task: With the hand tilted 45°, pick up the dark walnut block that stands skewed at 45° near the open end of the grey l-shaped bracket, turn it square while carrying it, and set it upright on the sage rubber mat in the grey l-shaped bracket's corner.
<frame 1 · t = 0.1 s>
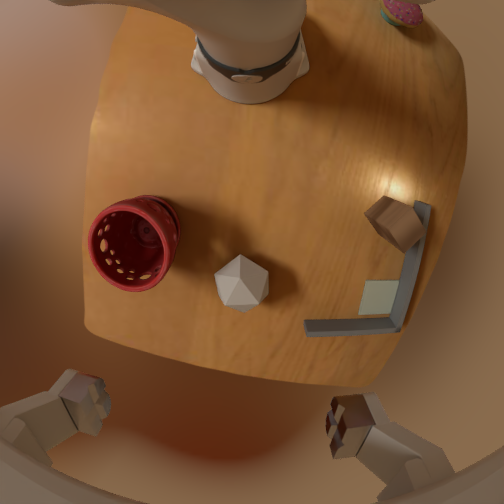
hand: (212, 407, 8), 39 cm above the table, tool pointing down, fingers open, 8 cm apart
plant pot: (153, 227, 47), on the table
cupcake: (391, 17, 31), on the table
grey l-shaped bracket: (364, 262, 48), on the table
die: (243, 273, 49), on the table
walnut block: (381, 215, 45), on the table
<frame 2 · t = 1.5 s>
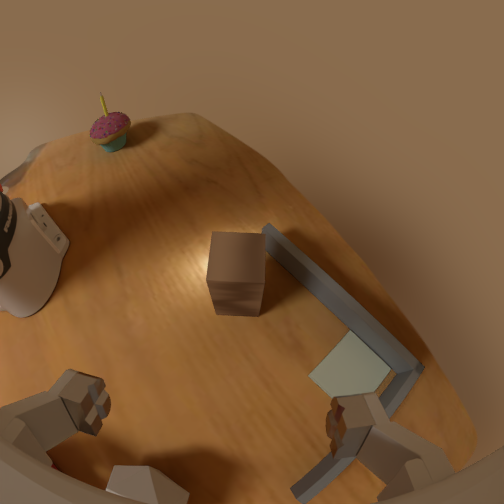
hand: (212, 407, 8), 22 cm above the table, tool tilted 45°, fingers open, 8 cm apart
cupcake: (116, 145, 48), on the table
grey l-shaped bracket: (279, 360, 30), on the table
die: (155, 489, 21), on the table
walnut block: (238, 296, 33), on the table
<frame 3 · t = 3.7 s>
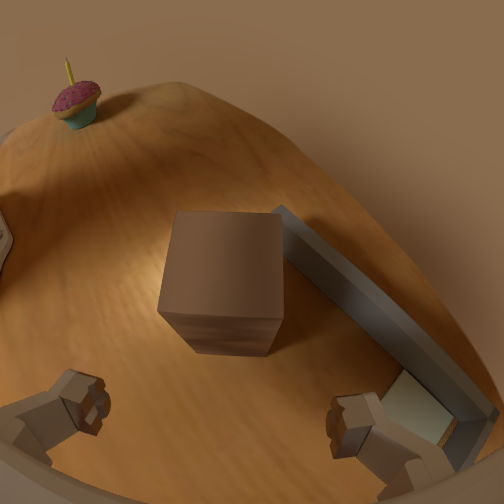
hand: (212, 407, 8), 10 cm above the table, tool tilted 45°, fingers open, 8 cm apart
cupcake: (84, 121, 35), on the table
grey l-shaped bracket: (298, 426, 16), on the table
walnut block: (232, 323, 20), on the table
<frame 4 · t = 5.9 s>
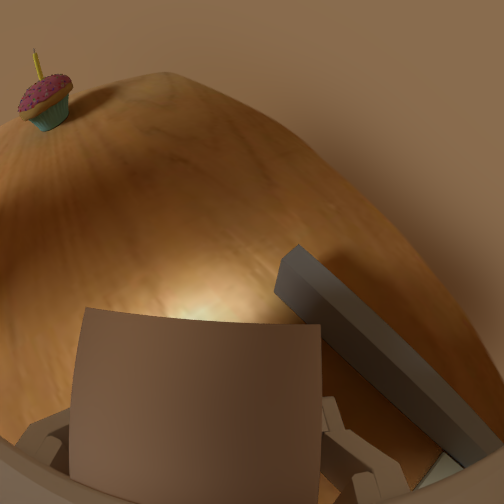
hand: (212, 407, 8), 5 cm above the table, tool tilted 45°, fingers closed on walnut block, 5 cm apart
cupcake: (55, 122, 28), on the table
walnut block: (224, 415, 13), on the table, touching gripper
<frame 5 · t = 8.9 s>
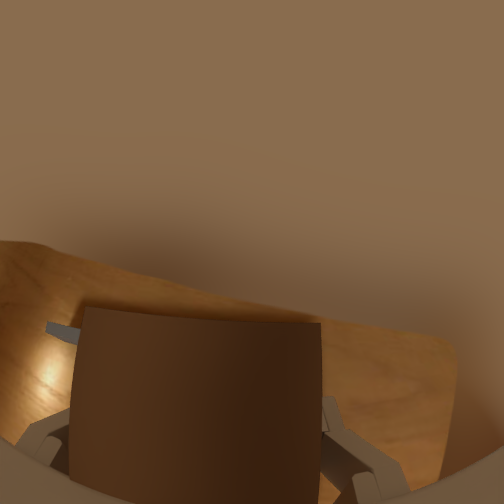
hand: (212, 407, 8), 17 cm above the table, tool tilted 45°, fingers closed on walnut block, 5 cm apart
grey l-shaped bracket: (154, 444, 21), on the table
walnut block: (224, 415, 13), point 12 cm above the table, touching gripper
when the fingers open (7 cm above the table, at t = 11.9 s): walnut block drops 1 cm, resting on grey l-shaped bracket.
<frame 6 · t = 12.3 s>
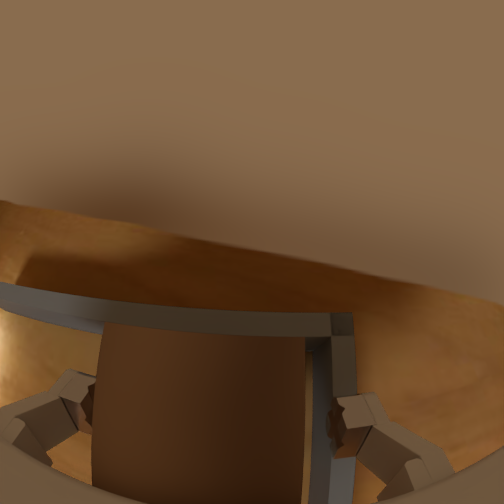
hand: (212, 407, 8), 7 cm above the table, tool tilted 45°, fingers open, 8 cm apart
grey l-shaped bracket: (106, 463, 11), on the table
walnut block: (224, 414, 14), resting on grey l-shaped bracket
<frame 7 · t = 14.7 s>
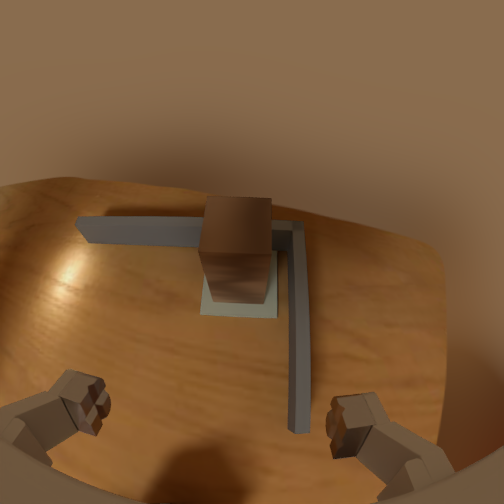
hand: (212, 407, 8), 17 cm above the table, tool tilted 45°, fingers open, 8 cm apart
grey l-shaped bracket: (164, 321, 26), on the table
walnut block: (239, 280, 29), resting on grey l-shaped bracket
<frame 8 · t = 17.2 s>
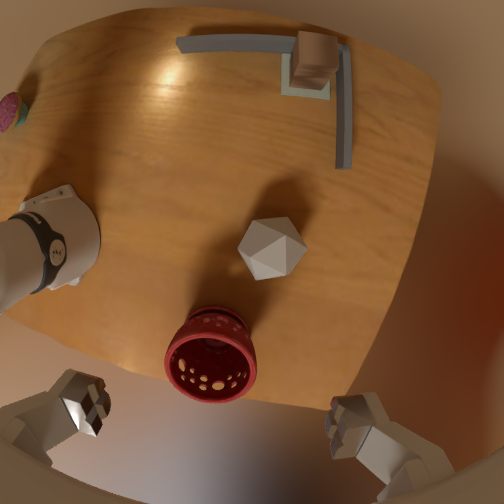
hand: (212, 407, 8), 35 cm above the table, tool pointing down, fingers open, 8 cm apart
plant pot: (218, 330, 47), on the table
cupcake: (22, 114, 36), on the table
grey l-shaped bracket: (256, 99, 37), on the table
die: (270, 242, 43), on the table
walnut block: (305, 74, 36), resting on grey l-shaped bracket
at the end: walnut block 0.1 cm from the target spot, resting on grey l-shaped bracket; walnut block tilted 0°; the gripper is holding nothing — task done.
